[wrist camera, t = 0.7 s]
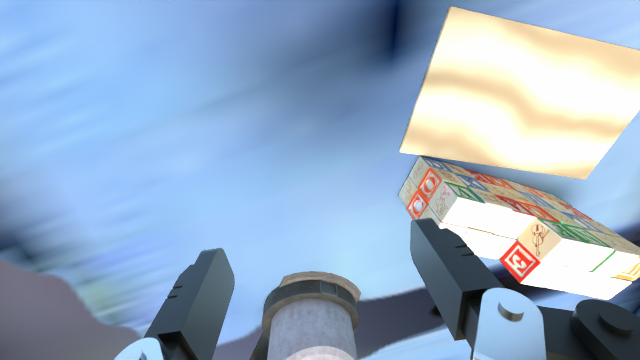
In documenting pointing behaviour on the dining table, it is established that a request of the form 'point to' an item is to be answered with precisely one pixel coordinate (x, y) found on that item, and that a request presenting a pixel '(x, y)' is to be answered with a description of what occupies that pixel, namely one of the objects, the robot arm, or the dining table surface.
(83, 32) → the dining table surface
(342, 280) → the juicer
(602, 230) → the stack of blocks
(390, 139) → the dining table surface
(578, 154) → the oak board
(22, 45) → the dining table surface
